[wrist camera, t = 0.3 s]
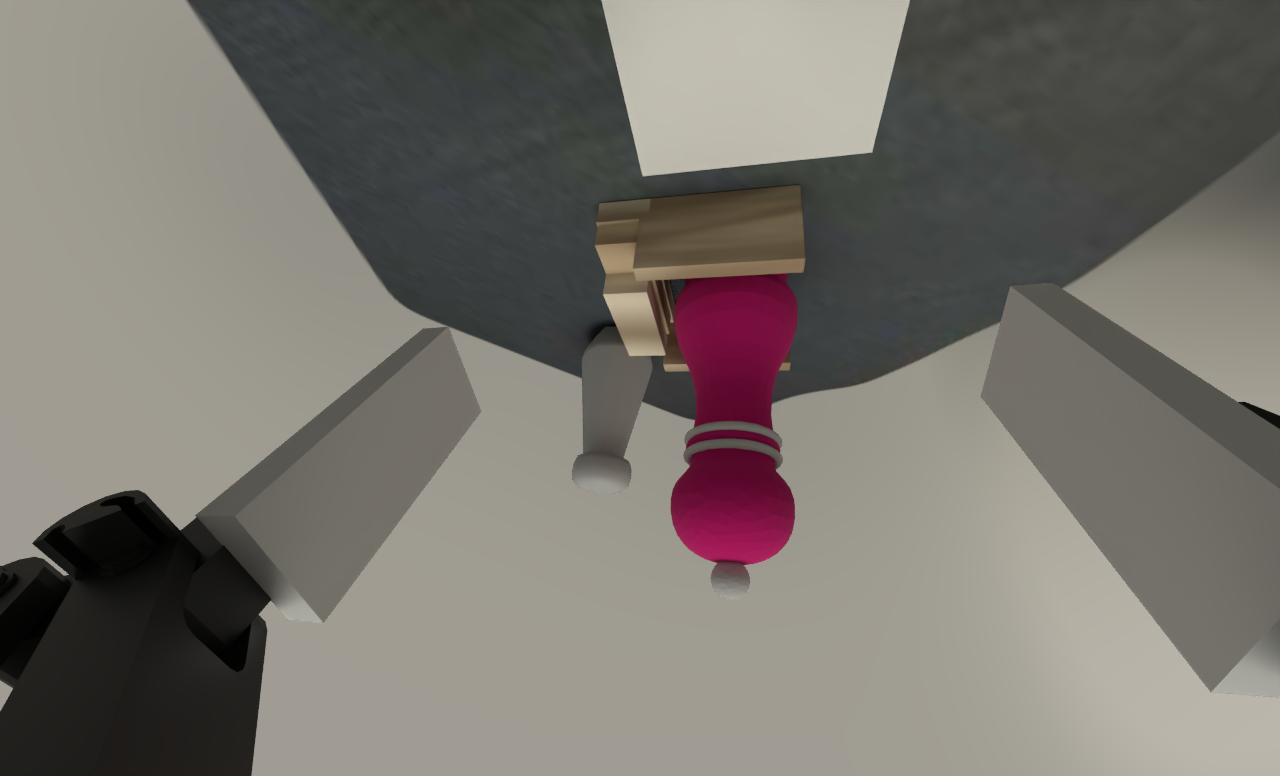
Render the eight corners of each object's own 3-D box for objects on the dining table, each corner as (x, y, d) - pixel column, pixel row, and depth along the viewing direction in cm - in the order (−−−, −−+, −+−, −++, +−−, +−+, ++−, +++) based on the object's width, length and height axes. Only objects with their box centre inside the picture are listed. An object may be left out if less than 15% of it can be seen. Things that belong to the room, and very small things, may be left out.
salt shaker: (667, 348, 41) (654, 499, 35) (614, 361, 44) (594, 502, 39) (628, 312, 37) (606, 476, 31) (572, 330, 40) (543, 482, 34)
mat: (578, -119, 16) (575, -111, 15) (957, -215, 13) (960, -207, 13) (643, 168, 25) (642, 176, 25) (870, 143, 23) (871, 152, 22)
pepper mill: (769, 302, 34) (777, 610, 25) (670, 286, 34) (642, 594, 25) (814, 228, 28) (845, 607, 19) (691, 207, 27) (664, 585, 18)
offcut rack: (599, 203, 28) (586, 271, 25) (800, 184, 25) (805, 258, 23) (638, 315, 37) (631, 371, 35) (786, 309, 35) (789, 370, 32)
